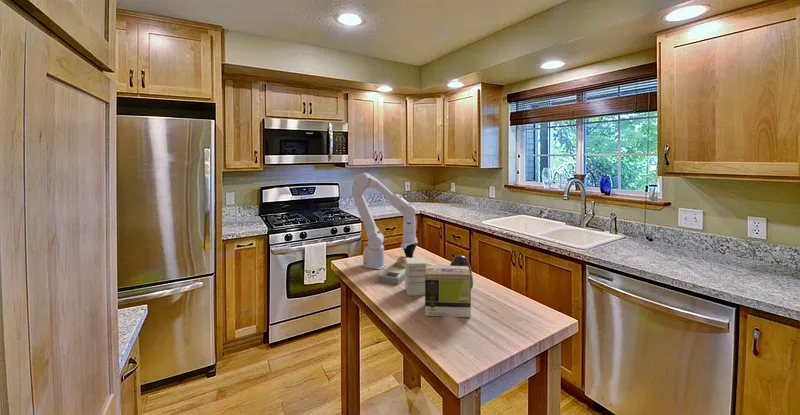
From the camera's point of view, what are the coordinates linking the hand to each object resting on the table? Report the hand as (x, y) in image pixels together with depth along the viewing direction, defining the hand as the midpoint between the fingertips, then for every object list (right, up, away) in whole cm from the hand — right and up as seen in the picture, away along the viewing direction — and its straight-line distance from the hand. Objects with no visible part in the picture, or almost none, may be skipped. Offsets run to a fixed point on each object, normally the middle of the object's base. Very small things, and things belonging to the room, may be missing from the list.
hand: (409, 260), depth 168 cm
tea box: (+12, -11, -45) cm, 47 cm away
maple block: (-3, -2, -6) cm, 7 cm away
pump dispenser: (+18, -9, -30) cm, 36 cm away
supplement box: (+2, -8, -28) cm, 30 cm away
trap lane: (-4, -5, -8) cm, 11 cm away
